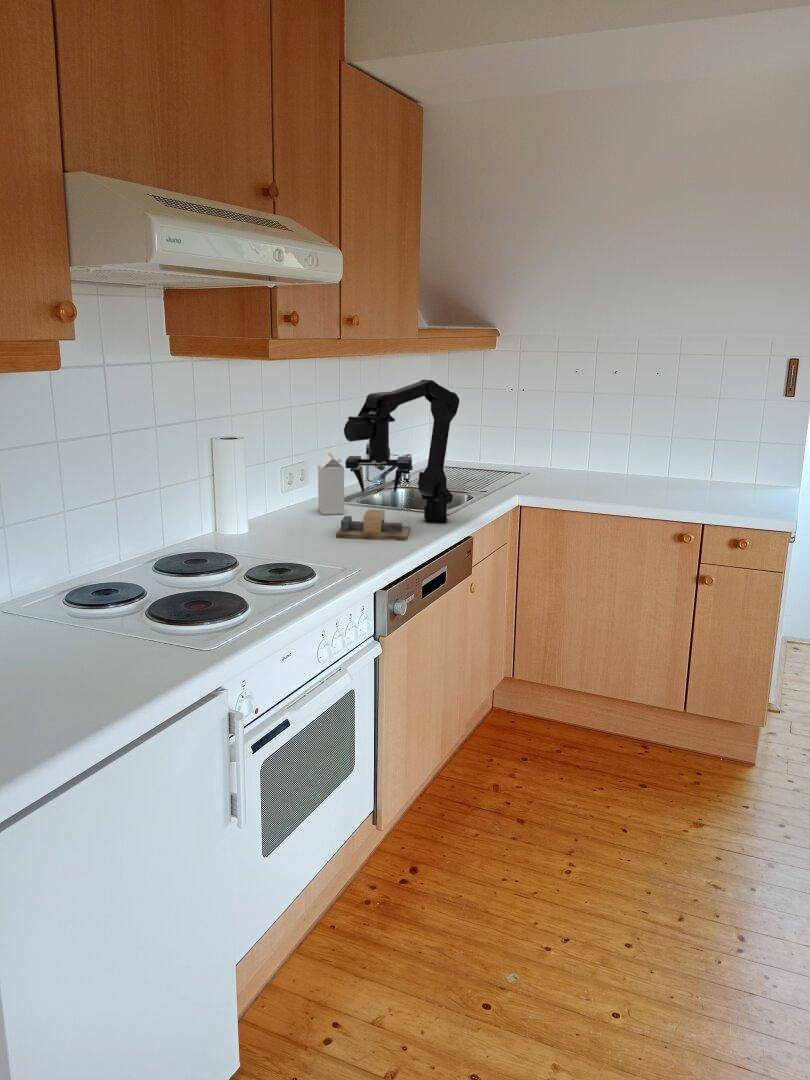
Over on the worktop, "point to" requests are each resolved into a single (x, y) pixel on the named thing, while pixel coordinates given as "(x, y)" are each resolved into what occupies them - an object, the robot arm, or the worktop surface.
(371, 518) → the block
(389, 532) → the rail board
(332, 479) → the milk carton
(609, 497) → the worktop surface
